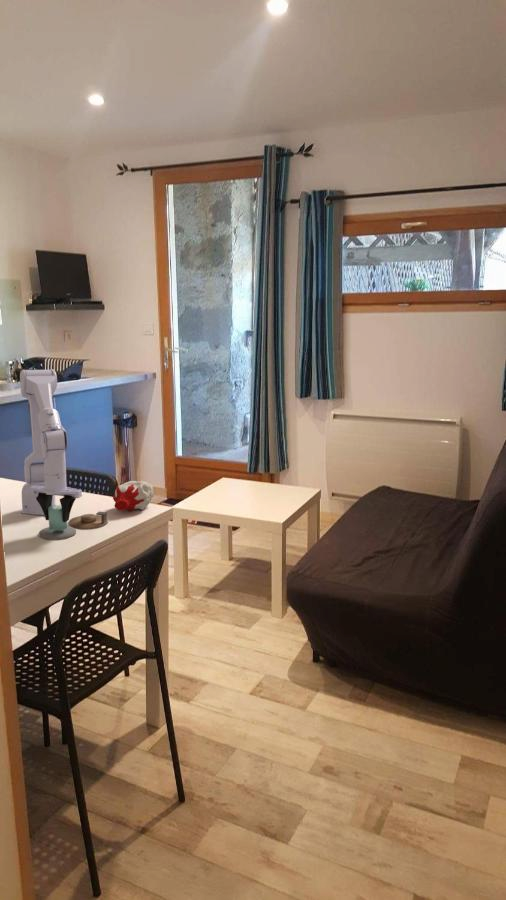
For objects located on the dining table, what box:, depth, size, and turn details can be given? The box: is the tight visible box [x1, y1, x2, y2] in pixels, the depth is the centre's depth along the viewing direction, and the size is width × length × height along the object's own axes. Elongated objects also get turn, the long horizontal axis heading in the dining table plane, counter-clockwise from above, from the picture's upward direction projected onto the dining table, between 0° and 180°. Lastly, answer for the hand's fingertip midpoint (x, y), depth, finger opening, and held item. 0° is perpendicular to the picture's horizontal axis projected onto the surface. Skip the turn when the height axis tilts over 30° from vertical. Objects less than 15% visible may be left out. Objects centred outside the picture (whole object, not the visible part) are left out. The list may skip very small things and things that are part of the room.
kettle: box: [48, 503, 68, 532], centre depth 182 cm, size 6×5×6 cm
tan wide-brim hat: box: [68, 511, 109, 530], centre depth 193 cm, size 11×11×4 cm
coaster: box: [38, 525, 77, 541], centre depth 184 cm, size 10×10×1 cm
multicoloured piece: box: [112, 480, 155, 512], centre depth 205 cm, size 9×11×15 cm
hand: (57, 520), depth 183 cm, fingers closed on kettle, 5 cm apart
